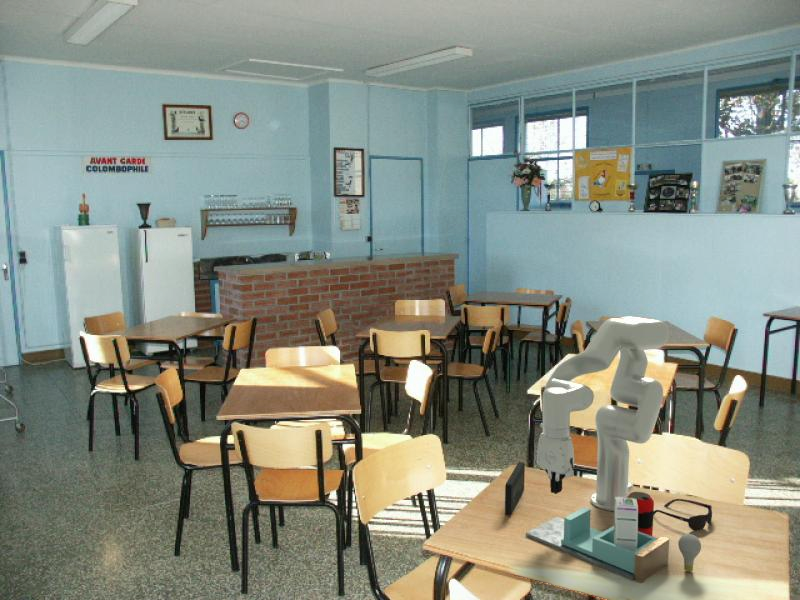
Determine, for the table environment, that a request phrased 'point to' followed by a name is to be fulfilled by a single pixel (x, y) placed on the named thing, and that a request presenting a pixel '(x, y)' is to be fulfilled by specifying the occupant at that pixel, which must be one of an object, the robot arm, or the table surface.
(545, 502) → the table surface
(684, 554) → the light bulb
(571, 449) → the robot arm
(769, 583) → the table surface
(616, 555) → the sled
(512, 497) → the nameplate
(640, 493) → the soda can
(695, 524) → the sunglasses
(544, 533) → the rail
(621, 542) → the syrup box
